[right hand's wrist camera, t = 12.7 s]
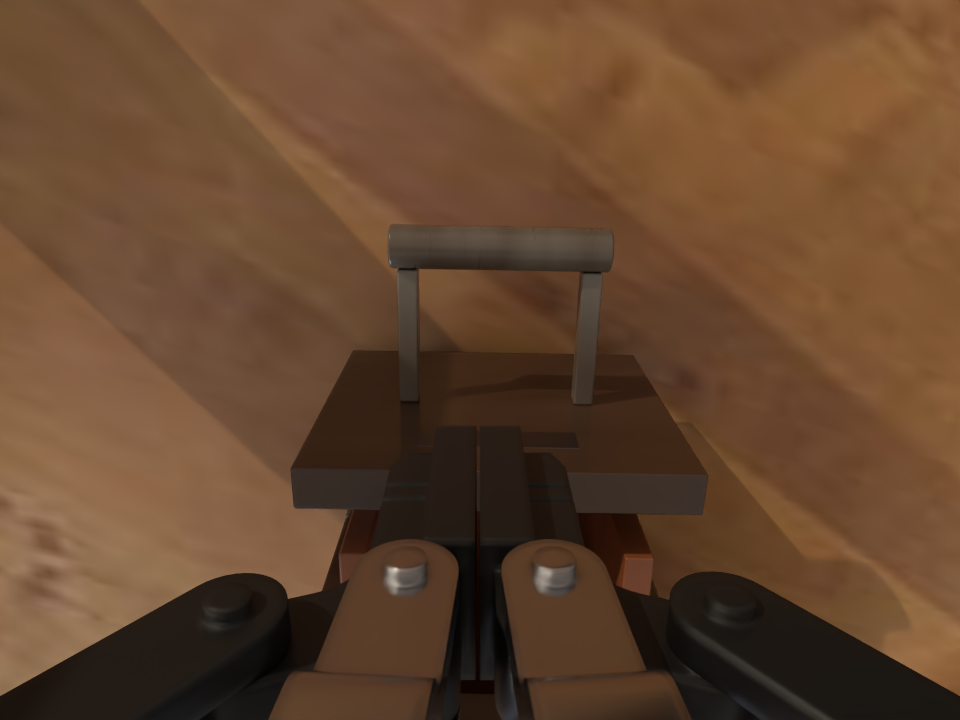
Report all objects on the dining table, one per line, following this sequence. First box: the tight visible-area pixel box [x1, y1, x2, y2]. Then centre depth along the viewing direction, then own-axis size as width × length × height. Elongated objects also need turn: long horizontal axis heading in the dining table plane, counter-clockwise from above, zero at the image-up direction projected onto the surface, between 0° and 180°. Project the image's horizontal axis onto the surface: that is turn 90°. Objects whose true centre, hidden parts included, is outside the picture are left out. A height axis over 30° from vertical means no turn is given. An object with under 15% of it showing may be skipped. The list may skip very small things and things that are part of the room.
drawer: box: [291, 224, 708, 694], centre depth 23 cm, size 22×11×9 cm, turn 179°
